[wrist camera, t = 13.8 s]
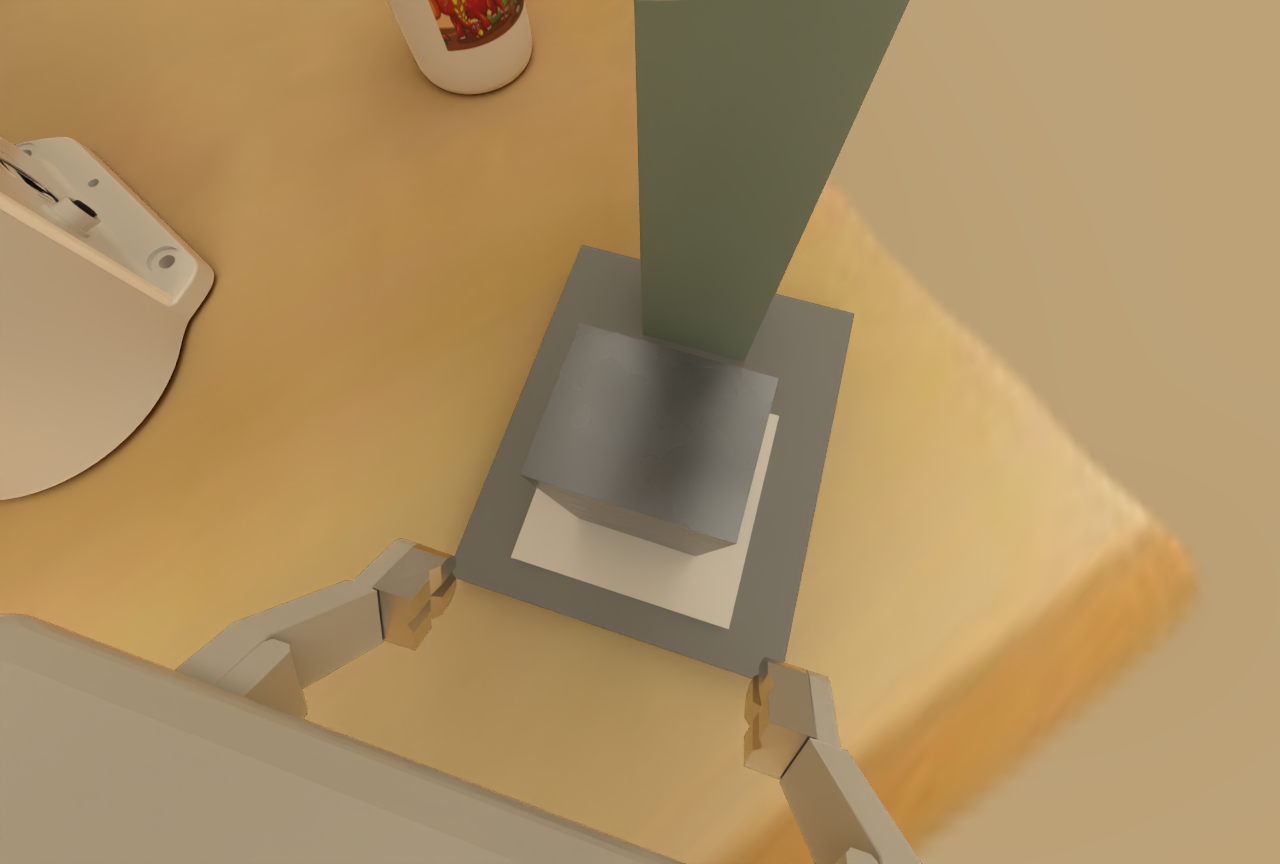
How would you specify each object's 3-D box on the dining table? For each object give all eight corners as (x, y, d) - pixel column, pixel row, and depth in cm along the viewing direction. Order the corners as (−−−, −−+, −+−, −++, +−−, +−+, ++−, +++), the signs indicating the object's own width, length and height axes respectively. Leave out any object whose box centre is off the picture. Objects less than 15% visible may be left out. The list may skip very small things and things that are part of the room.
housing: (577, 518, 19) (519, 474, 10) (609, 429, 20) (579, 322, 11) (695, 556, 18) (736, 543, 10) (721, 463, 20) (778, 378, 11)
